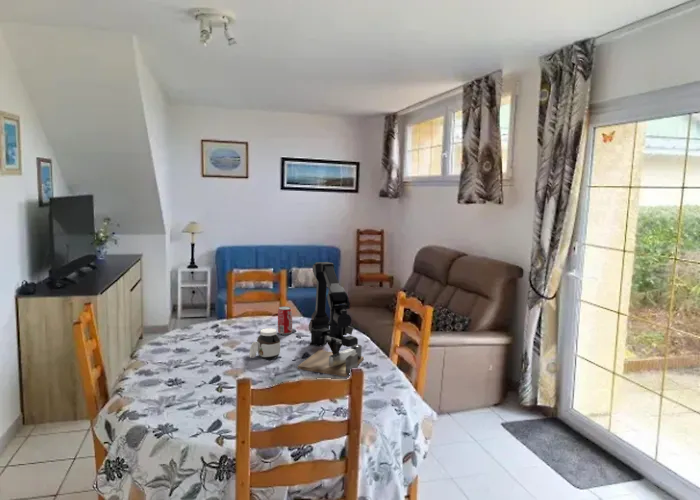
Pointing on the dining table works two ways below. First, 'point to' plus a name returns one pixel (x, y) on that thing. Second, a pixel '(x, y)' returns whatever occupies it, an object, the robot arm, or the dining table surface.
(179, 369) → the dining table surface
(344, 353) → the latch bar
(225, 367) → the dining table surface
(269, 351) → the spread jar
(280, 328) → the soda can
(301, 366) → the frame
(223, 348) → the dining table surface
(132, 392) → the dining table surface
